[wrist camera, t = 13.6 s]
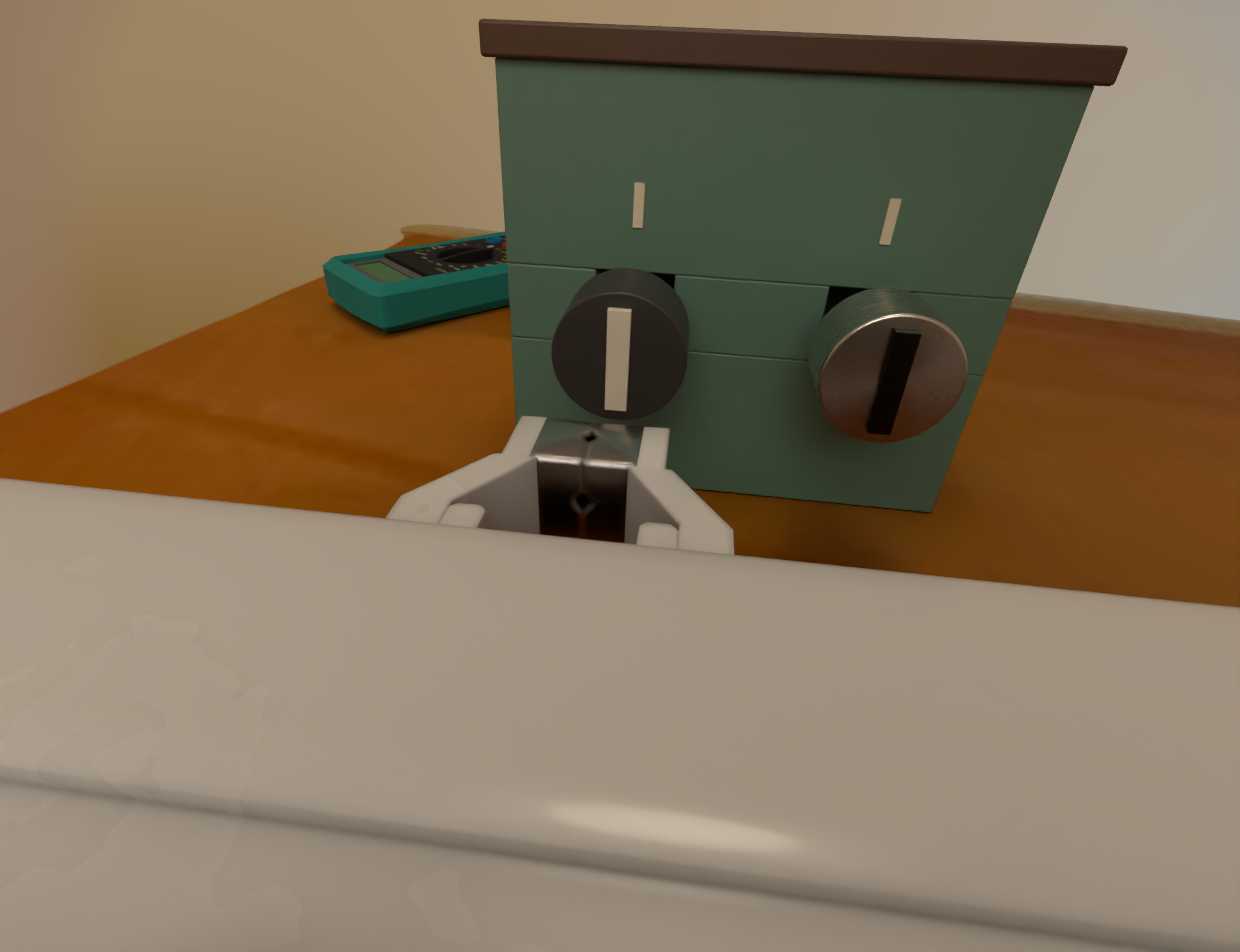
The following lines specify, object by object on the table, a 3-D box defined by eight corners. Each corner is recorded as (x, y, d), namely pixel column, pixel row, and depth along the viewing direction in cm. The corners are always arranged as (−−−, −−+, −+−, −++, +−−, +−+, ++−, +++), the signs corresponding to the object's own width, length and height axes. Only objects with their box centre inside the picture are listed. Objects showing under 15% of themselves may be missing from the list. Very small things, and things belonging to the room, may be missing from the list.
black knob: (680, 429, 17) (693, 300, 15) (550, 418, 18) (547, 288, 16) (687, 352, 22) (698, 244, 20) (583, 343, 22) (584, 237, 20)
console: (942, 518, 22) (1131, 46, 15) (508, 475, 24) (477, 18, 16) (903, 439, 27) (1031, 49, 19) (542, 406, 28) (530, 27, 21)
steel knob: (945, 454, 17) (993, 322, 15) (806, 441, 17) (836, 310, 15) (895, 369, 21) (927, 260, 19) (786, 360, 22) (807, 252, 20)
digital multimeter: (592, 290, 43) (593, 244, 41) (380, 340, 34) (370, 285, 32) (527, 265, 47) (526, 223, 45) (324, 304, 38) (313, 253, 37)
